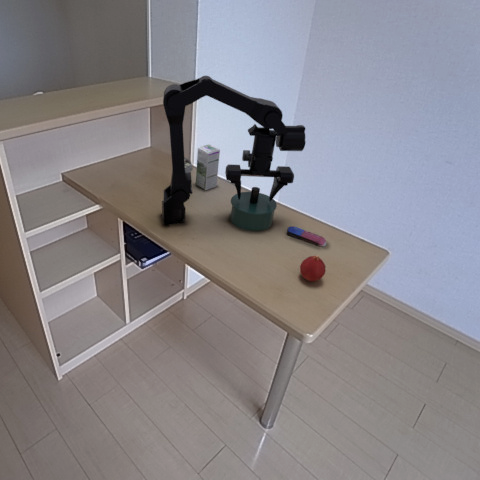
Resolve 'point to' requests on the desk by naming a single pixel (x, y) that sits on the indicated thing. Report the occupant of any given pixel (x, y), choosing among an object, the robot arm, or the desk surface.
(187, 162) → the food container
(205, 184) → the syrup box
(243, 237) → the desk surface
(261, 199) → the lid
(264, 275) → the desk surface
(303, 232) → the eraser
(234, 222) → the pot
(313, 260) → the onion
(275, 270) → the desk surface
